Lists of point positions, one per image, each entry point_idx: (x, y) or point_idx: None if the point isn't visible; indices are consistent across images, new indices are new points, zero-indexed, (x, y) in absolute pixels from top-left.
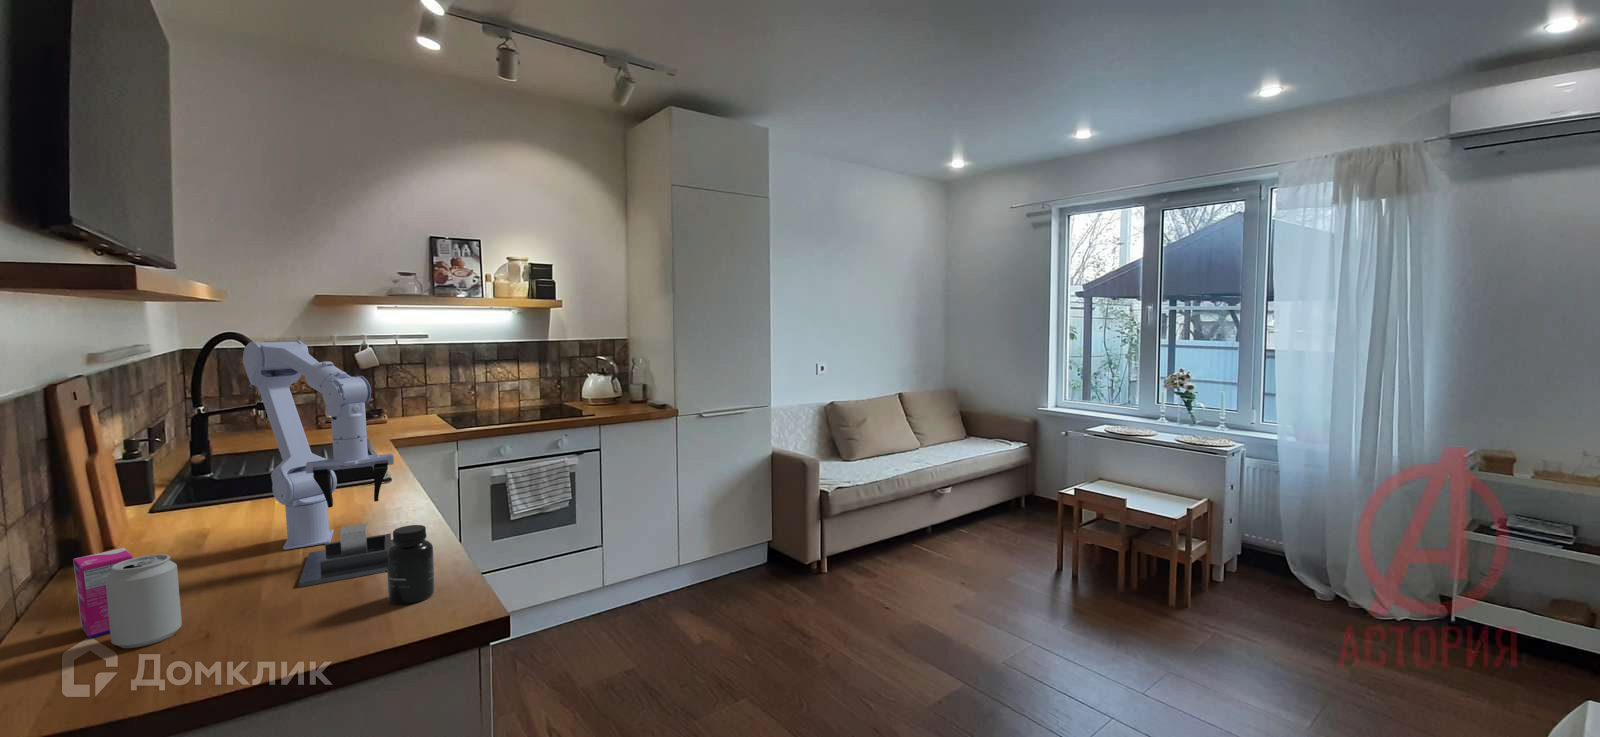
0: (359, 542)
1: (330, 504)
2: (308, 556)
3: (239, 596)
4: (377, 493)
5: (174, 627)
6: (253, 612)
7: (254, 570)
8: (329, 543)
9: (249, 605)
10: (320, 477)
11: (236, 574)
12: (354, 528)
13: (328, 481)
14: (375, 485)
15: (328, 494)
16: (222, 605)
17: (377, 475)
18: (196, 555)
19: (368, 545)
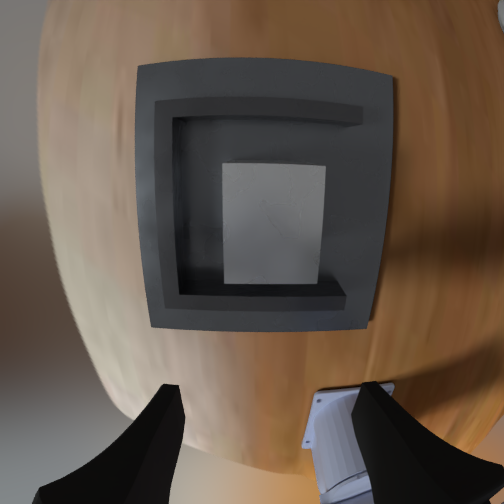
0: (249, 161)
1: (373, 389)
2: (372, 297)
3: (473, 116)
4: (149, 409)
5: (501, 3)
6: (433, 4)
7: (452, 282)
8: (335, 304)
9: (449, 45)
10: (489, 482)
11: (473, 274)
12: (268, 226)
13: (434, 478)
14: (142, 446)
15: (400, 423)
16: (485, 87)
17: (101, 493)
18: (469, 397)
19: (229, 284)
